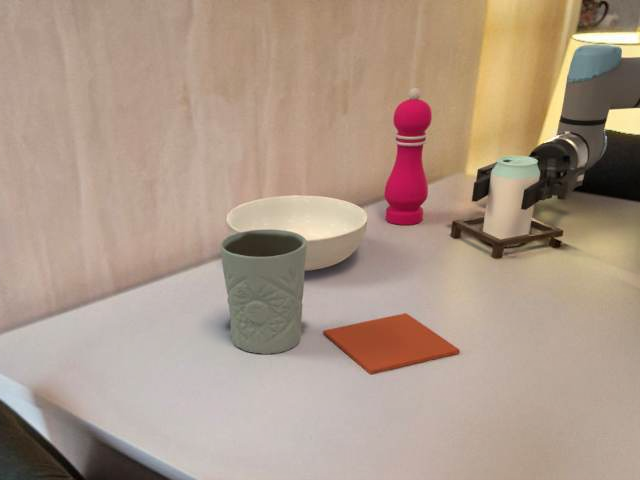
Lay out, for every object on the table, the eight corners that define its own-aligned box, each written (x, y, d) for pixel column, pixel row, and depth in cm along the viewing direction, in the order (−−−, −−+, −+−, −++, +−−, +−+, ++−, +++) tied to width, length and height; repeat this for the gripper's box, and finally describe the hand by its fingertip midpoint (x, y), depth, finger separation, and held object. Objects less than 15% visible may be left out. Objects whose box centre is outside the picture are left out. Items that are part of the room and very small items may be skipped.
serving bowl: (215, 284, 110) (212, 236, 106) (242, 237, 126) (241, 193, 122) (360, 290, 107) (363, 240, 102) (369, 240, 123) (372, 196, 119)
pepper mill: (403, 229, 127) (415, 94, 115) (373, 219, 132) (382, 88, 119) (434, 220, 130) (448, 87, 118) (403, 210, 135) (414, 82, 123)
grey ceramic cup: (253, 364, 90) (250, 263, 82) (210, 335, 96) (203, 239, 89) (322, 341, 94) (325, 243, 86) (276, 315, 101) (274, 222, 93)
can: (486, 248, 118) (498, 166, 111) (477, 234, 124) (488, 154, 116) (532, 248, 118) (548, 165, 110) (521, 233, 123) (535, 153, 116)
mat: (459, 353, 90) (460, 349, 90) (370, 374, 87) (370, 370, 86) (405, 316, 99) (406, 312, 99) (323, 334, 96) (323, 330, 95)
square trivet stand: (560, 246, 118) (563, 230, 116) (495, 259, 114) (498, 242, 113) (511, 225, 127) (514, 209, 125) (450, 236, 123) (452, 220, 122)
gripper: (502, 131, 129) (441, 160, 115) (623, 144, 120) (572, 178, 105) (495, 178, 134) (435, 211, 120) (611, 194, 124) (561, 233, 110)
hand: (499, 195), depth 113 cm, fingers closed on can, 7 cm apart
